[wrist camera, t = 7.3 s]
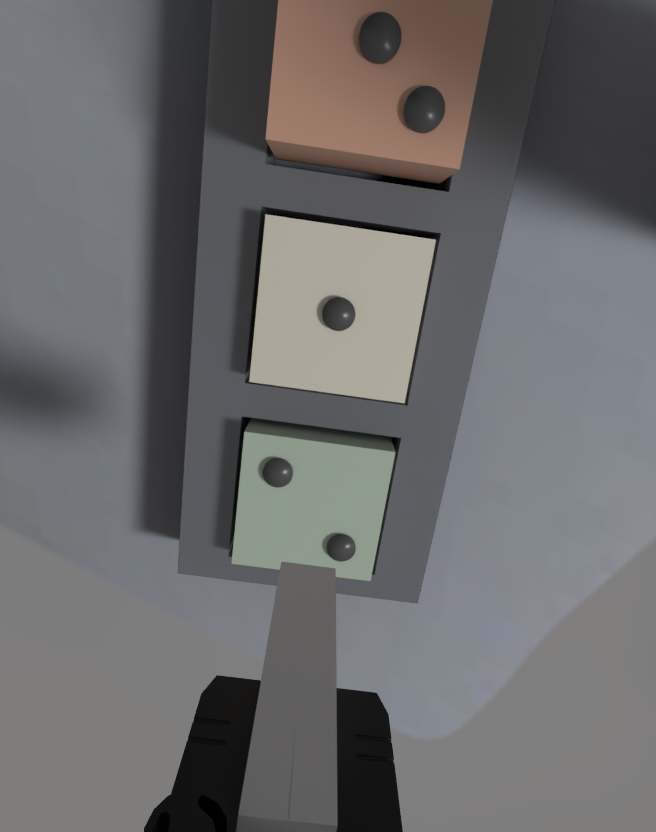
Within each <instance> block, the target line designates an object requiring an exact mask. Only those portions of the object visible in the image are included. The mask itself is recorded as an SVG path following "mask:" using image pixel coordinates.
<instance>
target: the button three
mask: <svg viewBox="0 0 656 832" xmlns="http://www.w3.org/2000/svg"><path fill="white" fill-rule="evenodd" d="M492 3H493V0H278V10H277V20H276V31H275V42H274V53H273V63H272V74H271V85H270V96H269V106H268V117H267V128H266V141H267V143H268V145H269V147H270V148H271V150H272V152H273V154H274V156H275V158H276V159H281V160H288V161H294V162H301V163H307V164H314V165H320V166H327V167H333V168H340V169H347V170H353V171H360V172H366V173H373V174H379V175H386V176H392V177H399V178H405V179H412V180H418V181H425V182H431V183H438V184H440V183H441V182H443V181H444V180H446V179H447V178H448V177H450V176H451V175H452V174H454V173H455V172H456V171H458V170H459V169H460V165H461V160H462V155H463V150H464V144H465V139H466V134H467V129H468V124H469V119H470V114H471V109H472V104H473V99H474V94H475V89H476V84H477V79H478V74H479V69H480V64H481V59H482V53H483V48H484V43H485V38H486V33H487V28H488V23H489V18H490V13H491V8H492Z"/></svg>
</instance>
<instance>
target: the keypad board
mask: <svg viewBox="0 0 656 832" xmlns="http://www.w3.org/2000/svg"><path fill="white" fill-rule="evenodd" d="M554 4H555V0H493V3H492V8H491V13H490V18H489V23H488V28H487V33H486V38H485V43H484V48H483V53H482V59H481V64H480V69H479V74H478V79H477V84H476V89H475V94H474V99H473V104H472V109H471V114H470V119H469V124H468V129H467V134H466V139H465V144H464V150H463V155H462V160H461V165H460V169H459V170H458V171H456V172H455V173H454V174H452V175H451V176H450V177H448V178H447V179H446V180H444V181H443V182H441V183H440V184H438V189H437V190H432V189H426V188H419V187H413V186H406V185H400V184H393V183H387V182H380V181H374V180H367V179H360V178H354V177H347V176H341V175H334V174H328V173H321V172H315V171H308V170H301V169H295V168H288V167H282V166H275V165H274V163H275V156H274V154H273V152H272V150H271V148H270V147H269V145H268V143H267V141H266V128H267V117H268V106H269V96H270V85H271V74H272V63H273V53H274V42H275V31H276V20H277V10H278V0H212V13H211V29H210V46H209V62H208V79H207V95H206V112H205V128H204V145H203V161H202V178H201V194H200V211H199V227H198V244H197V260H196V277H195V294H194V310H193V327H192V343H191V360H190V376H189V393H188V409H187V426H186V442H185V459H184V475H183V492H182V508H181V525H180V541H179V558H178V573H179V574H187V575H195V576H203V577H211V578H219V579H227V580H235V581H243V582H251V583H259V584H267V585H275V586H277V584H278V578H279V572H280V570H278V569H270V568H262V567H254V566H246V565H238V564H232V554H233V543H234V533H235V523H236V512H237V502H238V491H239V481H240V471H241V460H242V450H243V440H244V431H245V429H246V427H247V425H248V424H249V417H251V418H258V419H265V420H273V421H280V422H287V423H295V424H302V425H309V426H317V427H324V428H332V429H339V430H346V431H354V432H361V433H368V434H376V435H383V436H390V437H391V440H392V443H393V446H394V449H395V457H394V463H393V468H392V473H391V478H390V483H389V489H388V494H387V499H386V504H385V509H384V514H383V520H382V525H381V530H380V535H379V540H378V546H377V551H376V556H375V561H374V566H373V572H372V577H371V581H365V580H357V579H349V578H341V577H336V593H339V594H347V595H355V596H363V597H371V598H379V599H387V600H394V601H402V602H410V603H418V600H419V595H420V591H421V587H422V582H423V578H424V573H425V569H426V565H427V560H428V556H429V552H430V547H431V543H432V538H433V534H434V530H435V525H436V521H437V517H438V512H439V508H440V503H441V499H442V495H443V490H444V486H445V481H446V477H447V473H448V468H449V464H450V460H451V455H452V451H453V446H454V442H455V438H456V433H457V429H458V425H459V420H460V416H461V411H462V407H463V403H464V398H465V394H466V389H467V385H468V381H469V376H470V372H471V368H472V363H473V359H474V354H475V350H476V346H477V341H478V337H479V333H480V328H481V324H482V319H483V315H484V311H485V306H486V302H487V297H488V293H489V289H490V284H491V280H492V276H493V271H494V267H495V262H496V258H497V254H498V249H499V245H500V241H501V236H502V232H503V227H504V223H505V219H506V214H507V210H508V205H509V201H510V197H511V192H512V188H513V184H514V179H515V175H516V170H517V166H518V162H519V157H520V153H521V149H522V144H523V140H524V135H525V131H526V127H527V122H528V118H529V113H530V109H531V105H532V100H533V96H534V92H535V87H536V83H537V78H538V74H539V70H540V65H541V61H542V56H543V52H544V48H545V43H546V39H547V35H548V30H549V26H550V21H551V17H552V13H553V8H554ZM269 213H274V214H281V215H287V216H294V217H301V218H307V219H314V220H321V221H327V222H334V223H341V224H347V225H354V226H361V227H367V228H374V229H381V230H388V231H394V232H401V233H408V234H414V235H421V236H428V239H435V240H436V243H435V248H434V253H433V259H432V264H431V269H430V274H429V279H428V285H427V290H426V295H425V300H424V305H423V311H422V316H421V321H420V326H419V331H418V337H417V342H416V347H415V352H414V357H413V363H412V368H411V373H410V378H409V383H408V388H407V394H406V399H405V403H398V402H391V401H384V400H376V399H369V398H362V397H355V396H348V395H340V394H333V393H326V392H319V391H311V390H304V389H297V388H290V387H283V386H275V385H268V384H261V383H254V382H249V380H250V369H251V359H252V349H253V338H254V328H255V317H256V307H257V297H258V286H259V276H260V266H261V255H262V245H263V235H264V224H265V214H267V215H269Z"/></svg>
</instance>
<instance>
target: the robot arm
mask: <svg viewBox="0 0 656 832" xmlns="http://www.w3.org/2000/svg"><path fill="white" fill-rule="evenodd" d="M393 760H394V757H393V750H392V743H391V732H390V724H389V716H388V713H387V711H386V709H385V707H384V706H383V704H382V702H381V700H380V698H379V696H378V695H377V693H373V692H364V691H356V690H348V689H339V688H336V568H329V567H321V566H313V565H305V564H297V563H289V562H282V561H281V567H280V572H279V578H278V584H277V590H276V596H275V602H274V608H273V613H272V619H271V625H270V631H269V637H268V643H267V649H266V654H265V660H264V667H263V673H262V679H261V681H260V680H251V679H243V678H234V677H226V676H216V677H215V678H214V680H213V681H212V682H211V683H210V685H208V687H207V688H206V689H205V690H204V691H203V693H202V694H201V697H200V700H199V704H198V707H197V710H196V714H195V717H194V722H193V723H192V727H191V730H190V733H189V737H188V741H187V743H186V747H185V750H184V753H183V757H182V760H181V763H180V767H179V770H178V773H177V777H176V780H175V783H174V786H173V790H172V793H171V795H169V796H167V797H166V798H165V799H164V800H163V801H162V802H161V803H160V804H159V805H158V806H157V807H156V808H155V809H154V810H153V812H152V814H151V816H150V818H149V820H148V822H147V824H146V826H145V827H144V832H403V831H402V823H401V815H400V807H399V799H398V790H397V782H396V774H395V765H394V763H393Z"/></svg>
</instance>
